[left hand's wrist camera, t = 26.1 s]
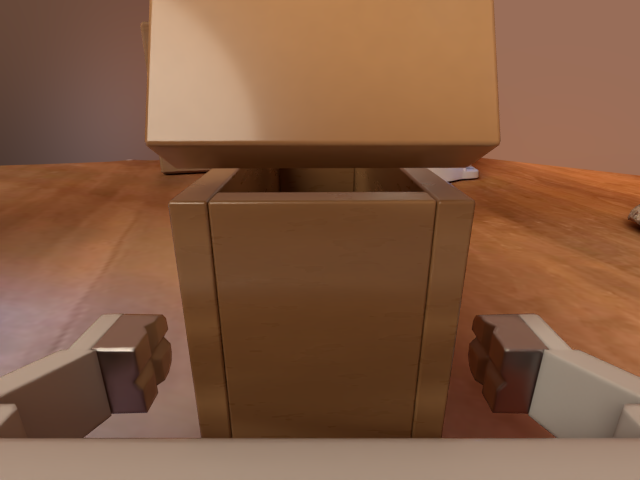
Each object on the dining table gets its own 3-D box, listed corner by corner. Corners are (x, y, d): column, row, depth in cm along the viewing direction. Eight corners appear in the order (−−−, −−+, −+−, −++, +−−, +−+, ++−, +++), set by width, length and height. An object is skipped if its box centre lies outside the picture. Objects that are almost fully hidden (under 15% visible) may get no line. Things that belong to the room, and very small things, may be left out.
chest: (274, 308, 23) (265, 126, 19) (360, 308, 23) (367, 126, 19) (222, 593, 10) (166, 201, 6) (420, 590, 10) (477, 200, 6)
